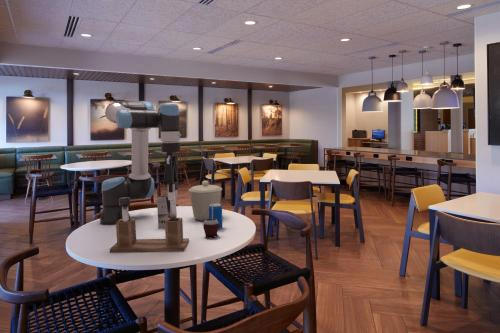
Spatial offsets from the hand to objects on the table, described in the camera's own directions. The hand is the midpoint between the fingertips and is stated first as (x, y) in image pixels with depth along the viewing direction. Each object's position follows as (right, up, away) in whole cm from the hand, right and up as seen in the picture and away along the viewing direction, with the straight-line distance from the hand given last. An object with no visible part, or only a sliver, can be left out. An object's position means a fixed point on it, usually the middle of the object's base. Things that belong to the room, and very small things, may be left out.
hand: (172, 198), depth 145 cm
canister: (+8, -16, +47) cm, 50 cm away
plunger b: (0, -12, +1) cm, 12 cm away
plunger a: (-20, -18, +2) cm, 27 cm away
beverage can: (+15, -18, +27) cm, 36 cm away
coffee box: (-10, -17, +33) cm, 39 cm away
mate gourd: (+14, -19, +15) cm, 28 cm away
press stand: (-10, -21, +2) cm, 23 cm away
